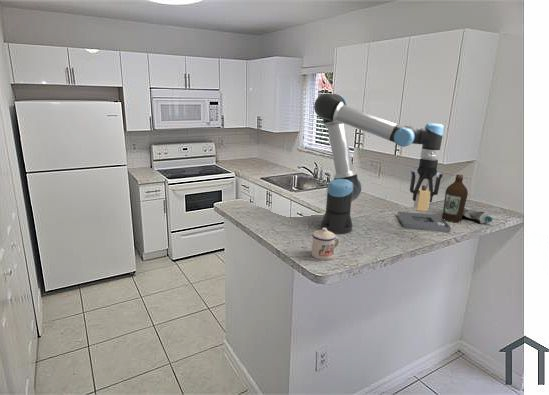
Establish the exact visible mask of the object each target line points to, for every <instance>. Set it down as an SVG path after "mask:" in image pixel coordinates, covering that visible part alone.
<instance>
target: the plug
mask: <svg viewBox="0 0 549 395" xmlns="http://www.w3.org/2000/svg"><path fill="white" fill-rule="evenodd" d="M417 194H418V201H417V207H416V208H415V209H416V210H417V211H423V212H428V210H429V207H428V203H429V204H430V202H429V198H430V191H429V188H428V185H425V184H424V185H422V184H421V187H420V188H419V190H418V193H417ZM427 209H428V210H427Z"/></svg>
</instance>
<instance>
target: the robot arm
mask: <svg viewBox="0 0 549 395" xmlns="http://www.w3.org/2000/svg"><path fill="white" fill-rule="evenodd" d="M313 108H314V114H316V115H317V117H319V118H321V119H322V122H323V125H324V126H325V127H326V128H327V133H328V136H329V143H330V148H331V155H332V159H333V164H334V169H335V175H334V176H333V179H332V180H330V181H329V182H328V185H327V188H326V189H327V190H326V191H327V193H326V205H325V206H326V207H325V212H324V215H323V218H322V220H321V223H320V227H321V229H322V228H327V230H328V231H330V232H332V233H334V234H348V233H351V232H352V231H353V228H354V227H353V221H352V217H351V210H352V202H353V201H354V200H356V199H358V197H360V194H361V192H362V188H363V186H362V183H361V181H360V180H359V179H358V173H357V172H355V171H354V169H353V162H352V158H351V151H350V146H349V141H348V136H347V131H346V125H348V126H350V127H353V128H355V129H358V130H360V131H363V132H366V133H368V134H371V135H374V136H376V137H379V138H381V139H385V140H387V141H389V142H392V143H393V144H394V143H395V145H397V146H399V147H408V146H410V145H413V144H415V145H421V146H422V147H421V152H420V158H419V163H418V168H417V169H416V170H412V171H411V170H410V174H411V180H410V186H409V192H410V193H411V194H412V201H414V202H413V209H416V207H417V201H418V194H417V193H418V190H419V188H421V187H422V184H423V181H424V180H428V190H429V191H430V198H429V203H428V209H427V211H428V210H429V207H430V203H432V201H433V197H434V196H438V194H439V189H440V184H441V179H442V178H443V173H442V172H441V173H440V172H438V169H437V168H438V164H439V160H438V159H439V157H440V152H441V151H440V150H441V146H442V143H443V141H442V140H443V136H444V128H445V127H444V125H443V124H441V123H428V122H427V123H426V124H425V126H423V127H422V126H421V127H420V126H411V125H410V126H409V125H401V124H398V123H396V122H395V123H394V122H391V121H389V120H386V119H384V118H381V117H379V116H375V115H372V114H370V113H368V112H364V111H361V110H359V109H356V108H355V107H351V106H349V105H348V104H347V101H346V99H345V98H344V97H343V96H341V94H337V93H323V94H320V95H319V96H318V97H317V98H316V99H315V102H314V103H313ZM417 175H419V176H418V179H417V180H418V181H417V182H416V176H417ZM434 176H435V177H436V178H435V183H434V184H433V178H434ZM415 182H416V185H415Z"/></svg>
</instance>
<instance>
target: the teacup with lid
mask: <svg viewBox="0 0 549 395" xmlns="http://www.w3.org/2000/svg"><path fill="white" fill-rule="evenodd" d="M311 235H312V243H311V256H312V257H313V258H314V259H317V260H320V261H321V260H322V261H323V260H324V261H327V260H328V261H329V260H331V259H332V258H333V257H334V251H335V250H334V249H336V248H337V247H338V246H339V245H340V238H339V237H337V236H336V233H332V232H330V231H328V230H327V228H321V229H319V230H316V231H313V232H312V234H311ZM335 240H336V243H335Z"/></svg>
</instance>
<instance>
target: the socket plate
mask: <svg viewBox="0 0 549 395" xmlns="http://www.w3.org/2000/svg"><path fill="white" fill-rule="evenodd" d="M396 214H397V218H398V220H399V222H400V225H401V226H402V228H403V229H412V230H419V229H420V230H421V231H429V230H431V231H430V232H439V231H440V232H441V233H449V232H450V233H451V229H452V227H451V226H450V225H449V224H448V223H447V221H446V220H444V219H443V218H442V216H441V215H440V214H432V213H431V214H429V213H419V212H407V211H397V213H396ZM414 220H415V221H414ZM424 221H428V222H424Z"/></svg>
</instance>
